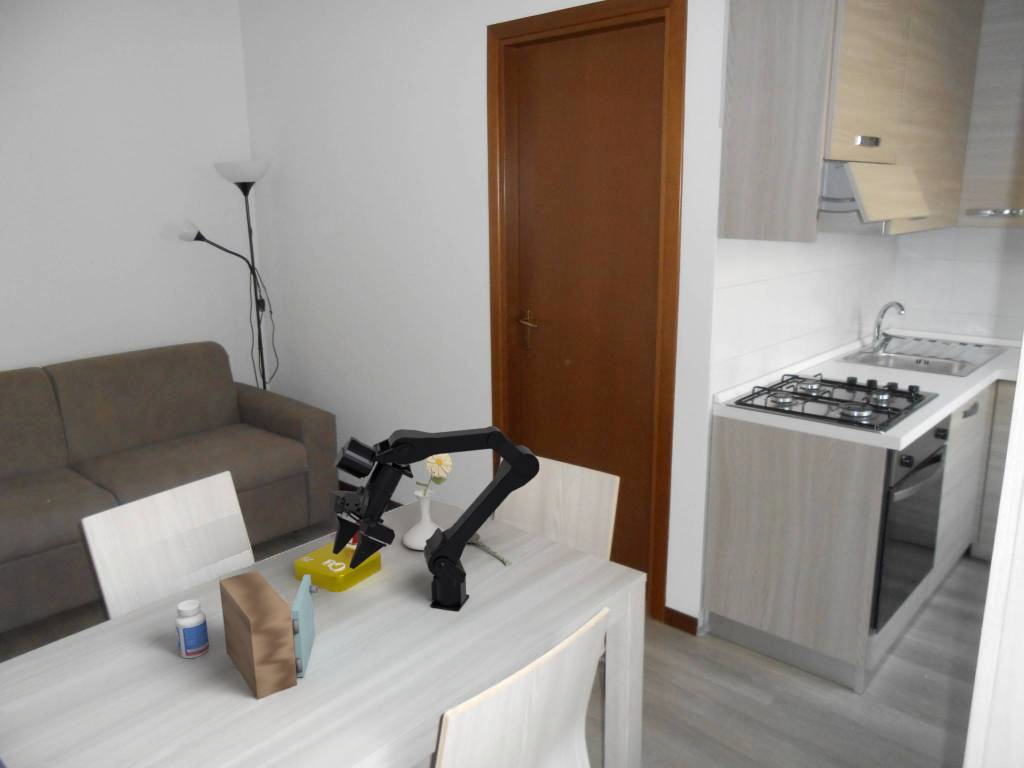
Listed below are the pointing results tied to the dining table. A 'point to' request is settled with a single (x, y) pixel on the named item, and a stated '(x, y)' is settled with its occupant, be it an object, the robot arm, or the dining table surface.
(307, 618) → the door
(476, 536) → the soupspoon
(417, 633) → the dining table surface
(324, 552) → the element tile
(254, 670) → the cabinet
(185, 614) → the pill bottle
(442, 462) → the flower in vase
